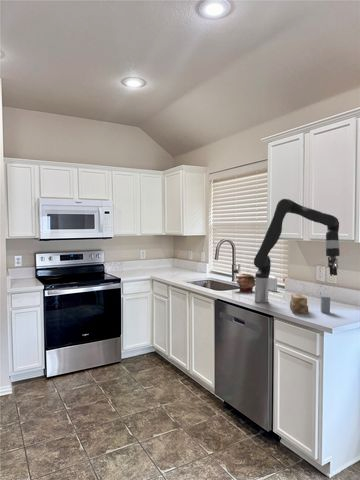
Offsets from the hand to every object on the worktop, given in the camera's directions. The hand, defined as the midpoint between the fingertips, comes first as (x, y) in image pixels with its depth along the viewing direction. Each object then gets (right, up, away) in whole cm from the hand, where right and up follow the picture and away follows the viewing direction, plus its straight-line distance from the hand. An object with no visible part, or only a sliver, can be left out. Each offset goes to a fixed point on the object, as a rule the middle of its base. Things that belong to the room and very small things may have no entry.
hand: (333, 275), depth 207 cm
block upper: (-17, -19, +11) cm, 28 cm away
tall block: (-1, -24, +10) cm, 26 cm away
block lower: (-17, -24, +12) cm, 32 cm away
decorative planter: (-37, -21, +75) cm, 86 cm away
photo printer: (-16, -21, +81) cm, 85 cm away
